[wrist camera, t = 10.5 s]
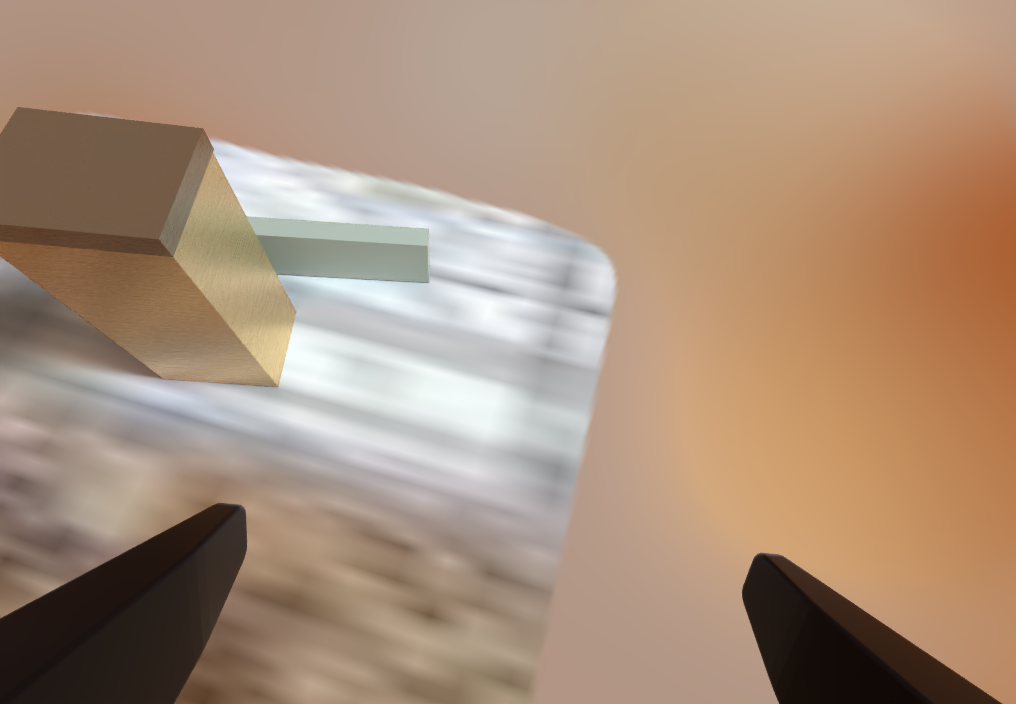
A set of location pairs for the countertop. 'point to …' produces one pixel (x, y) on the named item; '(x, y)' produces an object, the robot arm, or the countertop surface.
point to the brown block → (143, 243)
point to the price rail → (344, 249)
